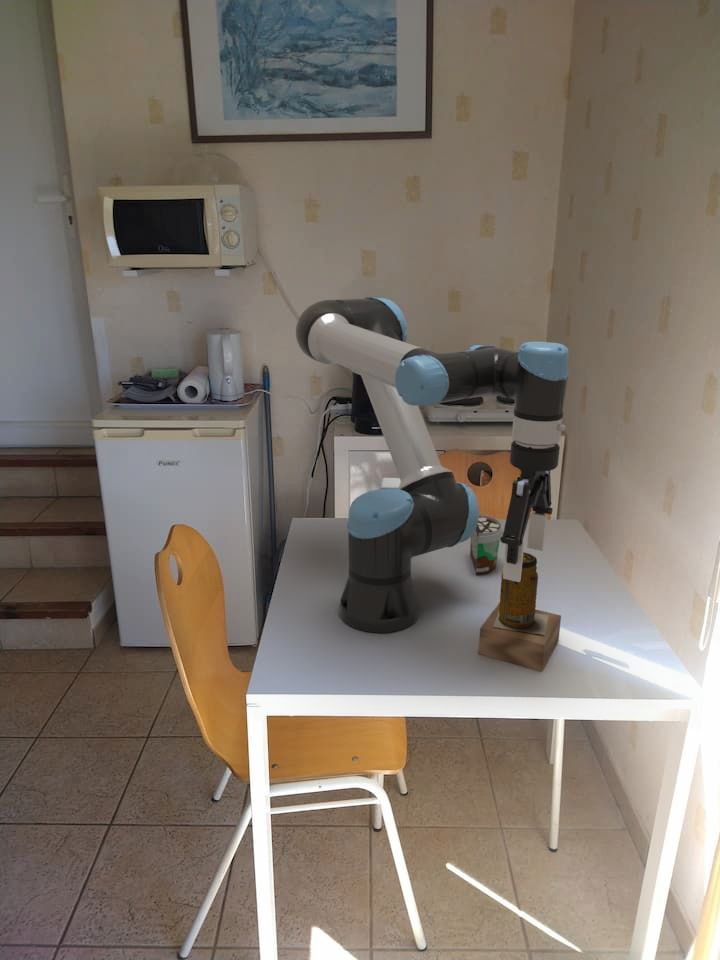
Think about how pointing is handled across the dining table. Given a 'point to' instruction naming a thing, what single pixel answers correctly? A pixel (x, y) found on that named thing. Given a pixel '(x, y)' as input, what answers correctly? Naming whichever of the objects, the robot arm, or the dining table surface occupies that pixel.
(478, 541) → the food container
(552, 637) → the walnut block
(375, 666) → the dining table surface
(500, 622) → the condiment
